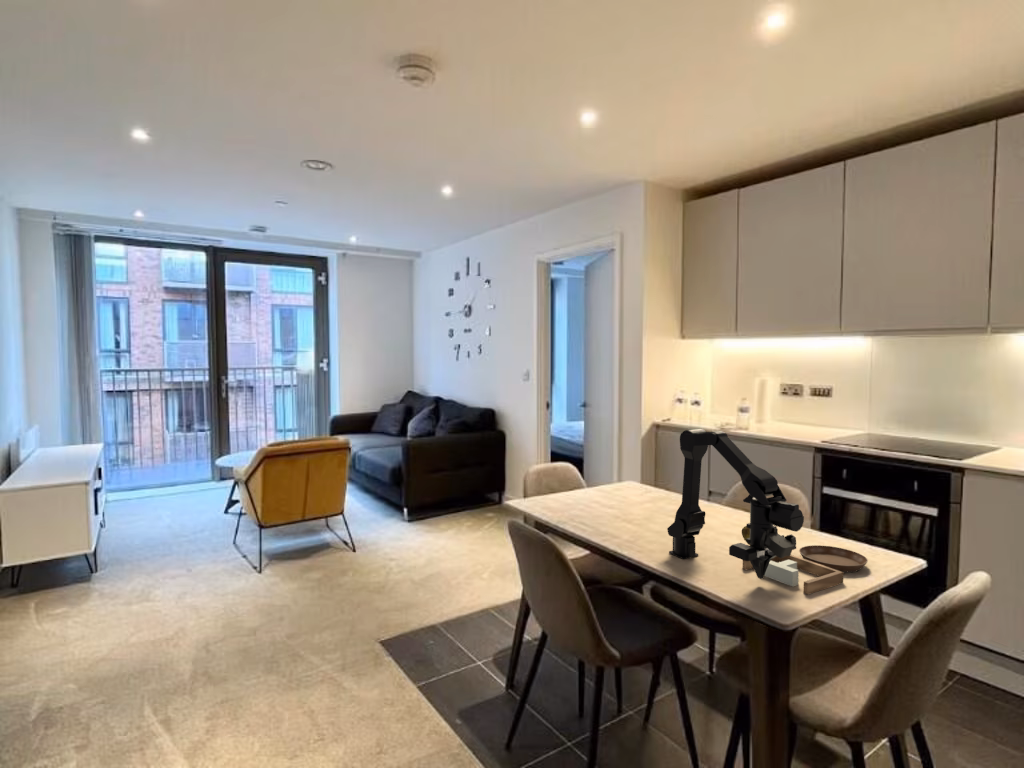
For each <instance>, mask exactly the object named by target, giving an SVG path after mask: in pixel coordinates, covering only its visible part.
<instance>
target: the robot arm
mask: <svg viewBox="0 0 1024 768" xmlns="http://www.w3.org/2000/svg"><path fill="white" fill-rule="evenodd" d="M679 446H680V447H679V448H680V451H681V453H682V454H683V457H684V462H683V463H684V464H683V465H684V467H683V479H682V480H683V481H682V491H681V492H682V496H681V504H680V506H679V507H678V509H677V510H676V512H675V515H674V522H673V523H671V524H670V525H669V526H668V527H666V528H667V534H668V536H670V537H672V550H669V551H668V553H669V554H670V555H672V556H676V557H678V558H680V559H682V560H686V559H690V558H694V557H699V553H697V552H696V536H698V535H699V534H700V533H701V530H702V529H703V528H704V525H706V522H705V521H706V520H705V518H706V511H704V510H702V509H701V507H700V489H701V474H702V473H701V472H702V460H703V458H704V457H705V455H706V453H707V452H708V448H709V446H712V447H713V448H714V449H715V450H716V452H718V453H719V454H720V455H721V457H723V459H724V460H725V461H726V462H727V463H728V464H729V465H730V466H731V468H732V469H734V470H735V472H736V473H737V474H738V475H739V477H740V479H741V484H742V486H743V487H744V488H745V489H744V490H746V492H747V493H748V496H746V497H745V498H743V500H742V502H744V503H747V504H750V505H749V506H750V507H749V508H750V509H749V510H750V511H749V514H750V515H749V523H746V525H745V526H746V527H747V528H750V538H747V539H746V541H745V543H742V542H738V543H734V544H731V545H730V546H729V547H728V555H730V556H732V557H734V558H737V559H739V560H742V561H743V560H744V561H750V562H751V564H752V566H753V568H752V569H753V571H754V572H755V574H756V577H757V578H758V579H760V580H762V579H764V577H765V576H764V575H765V572H766V570H767V567H768V565H769V562H770V560H771V559H772V558H774V557H776V556H777V557H779V558H783V557H785V556H790V555H792V552H793V551H794V550H796V549H797V537H796V536H794V535H793V534H787V535H786V536H785V535H784V534H783V535H782V534H779V533H778V532H779V531H778V528H782V529H785V530H789V531H792V532H799V531H800V530H801V529H802V527H803V525H804V523H805V522H804V521H805V516H804V514H803V511H802V510H801V509H799V508H800V506H799V504H798V503H792V502H791V503H790V502H787V498H786V497H785V495H784V493H783V492H782V489H781V488H780V486H779V482H778V479H776V477H775V476H773V475H772V473H770V472H768V471H767V470H766V469H764V468H763V467H762V468H761V467H760V466H757V465H756V464H755V463H753V462H752V461H751V460H750V458H749V457H748V456H746V455H745V453H744V452H743V451H742V450H741V449H740V448H739V447H738V446H737V445H736V444H735V443H734V442H733V441H732V440H731V439H730V437H728V434H727V432H725V431H723V430H718V431H706V430H705V429H704V428H694V429H686V430H684V431H682V432H681V433H680V434H679ZM746 543H750V545H751V546H750V545H749V544H746Z"/></svg>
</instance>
